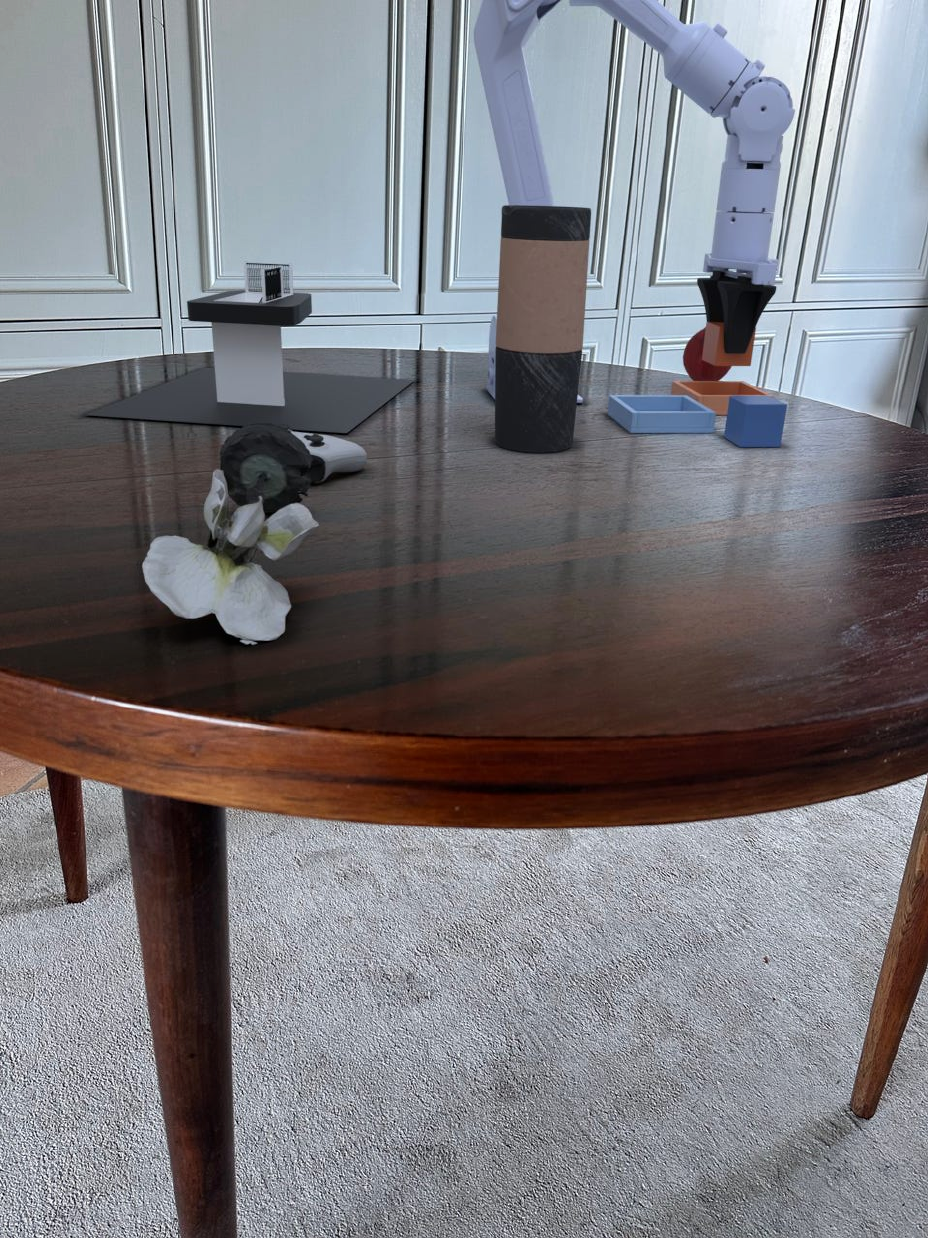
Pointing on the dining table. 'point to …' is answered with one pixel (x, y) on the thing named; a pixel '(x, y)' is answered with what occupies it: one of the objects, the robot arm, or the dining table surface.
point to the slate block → (755, 421)
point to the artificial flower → (240, 537)
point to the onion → (701, 361)
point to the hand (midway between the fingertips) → (727, 349)
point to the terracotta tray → (715, 392)
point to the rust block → (716, 351)
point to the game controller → (330, 455)
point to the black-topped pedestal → (258, 369)
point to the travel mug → (540, 325)
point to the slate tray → (661, 414)
